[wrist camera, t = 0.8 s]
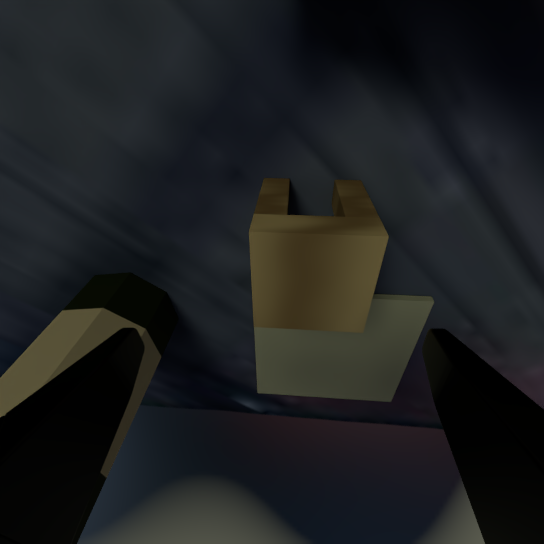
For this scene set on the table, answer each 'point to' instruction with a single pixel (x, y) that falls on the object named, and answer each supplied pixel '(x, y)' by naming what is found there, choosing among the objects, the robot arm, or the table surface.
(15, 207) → the table surface
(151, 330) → the wine bottle
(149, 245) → the table surface
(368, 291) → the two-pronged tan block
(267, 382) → the mat
